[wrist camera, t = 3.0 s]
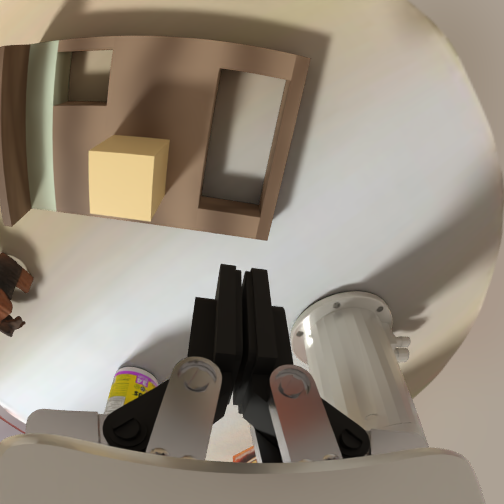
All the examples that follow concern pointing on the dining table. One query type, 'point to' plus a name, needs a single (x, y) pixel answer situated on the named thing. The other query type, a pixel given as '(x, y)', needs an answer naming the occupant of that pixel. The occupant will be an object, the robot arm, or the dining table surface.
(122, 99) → the box
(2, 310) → the pottery mug
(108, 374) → the dining table surface
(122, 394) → the supplement bottle
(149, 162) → the block
